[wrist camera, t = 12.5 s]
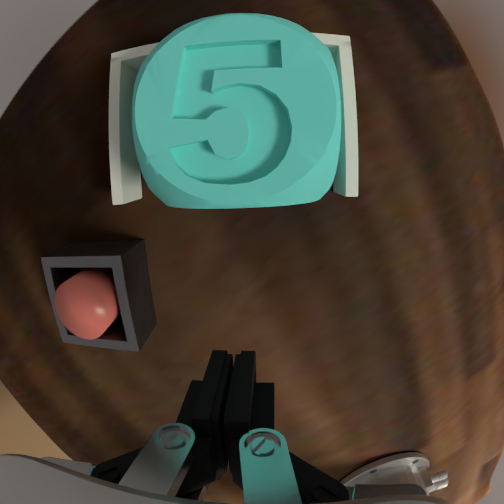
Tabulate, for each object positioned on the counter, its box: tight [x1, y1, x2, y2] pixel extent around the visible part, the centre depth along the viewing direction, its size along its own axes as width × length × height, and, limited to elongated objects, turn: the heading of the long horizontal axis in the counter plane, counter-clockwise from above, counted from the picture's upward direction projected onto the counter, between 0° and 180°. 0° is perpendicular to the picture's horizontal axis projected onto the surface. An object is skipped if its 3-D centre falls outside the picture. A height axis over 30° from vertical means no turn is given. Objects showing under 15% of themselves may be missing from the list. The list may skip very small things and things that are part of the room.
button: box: [55, 268, 121, 340], centre depth 18 cm, size 4×4×4 cm
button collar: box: [41, 240, 157, 351], centre depth 19 cm, size 6×6×4 cm
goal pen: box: [109, 33, 358, 205], centre depth 16 cm, size 14×9×3 cm
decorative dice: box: [132, 13, 341, 209], centre depth 14 cm, size 8×8×8 cm
